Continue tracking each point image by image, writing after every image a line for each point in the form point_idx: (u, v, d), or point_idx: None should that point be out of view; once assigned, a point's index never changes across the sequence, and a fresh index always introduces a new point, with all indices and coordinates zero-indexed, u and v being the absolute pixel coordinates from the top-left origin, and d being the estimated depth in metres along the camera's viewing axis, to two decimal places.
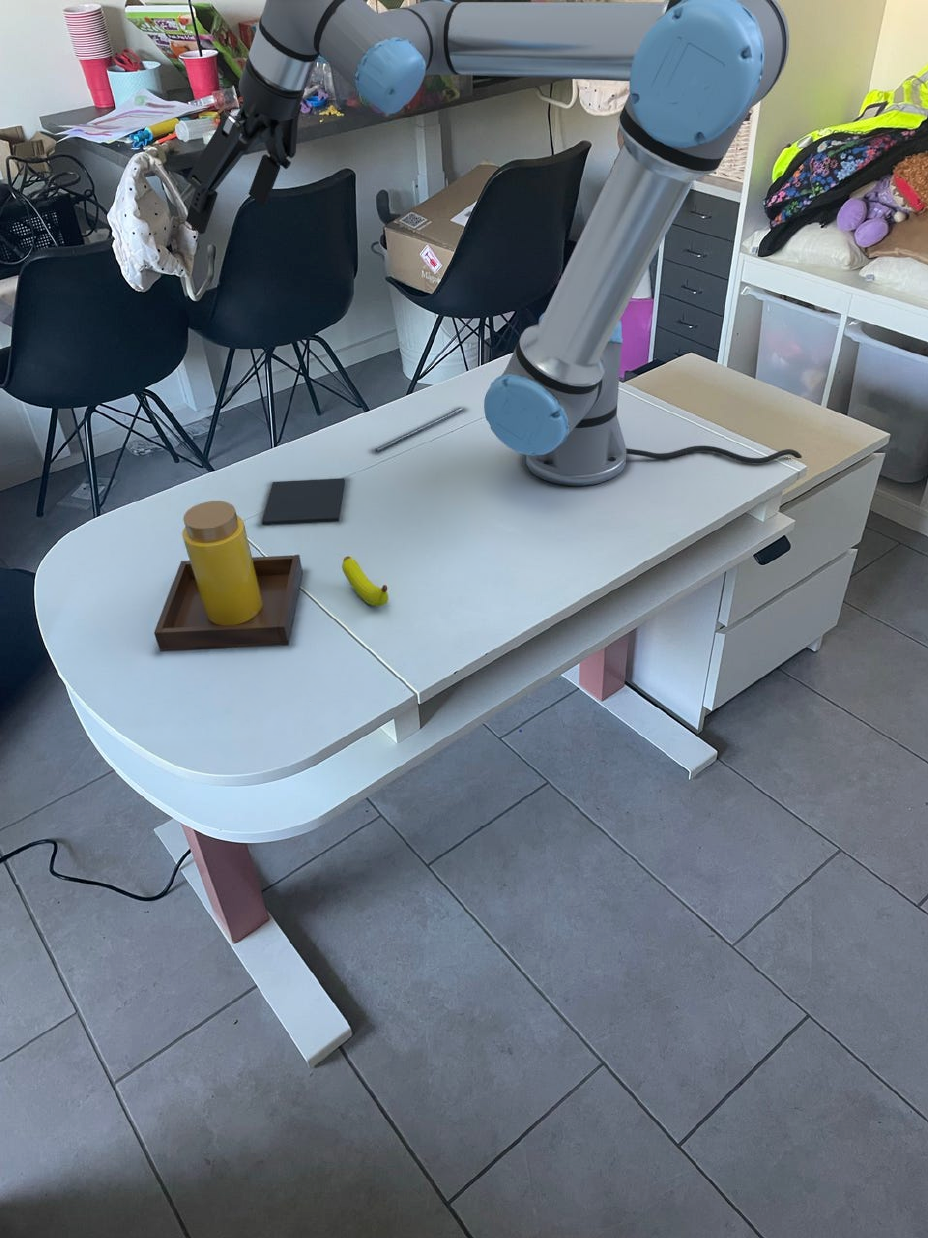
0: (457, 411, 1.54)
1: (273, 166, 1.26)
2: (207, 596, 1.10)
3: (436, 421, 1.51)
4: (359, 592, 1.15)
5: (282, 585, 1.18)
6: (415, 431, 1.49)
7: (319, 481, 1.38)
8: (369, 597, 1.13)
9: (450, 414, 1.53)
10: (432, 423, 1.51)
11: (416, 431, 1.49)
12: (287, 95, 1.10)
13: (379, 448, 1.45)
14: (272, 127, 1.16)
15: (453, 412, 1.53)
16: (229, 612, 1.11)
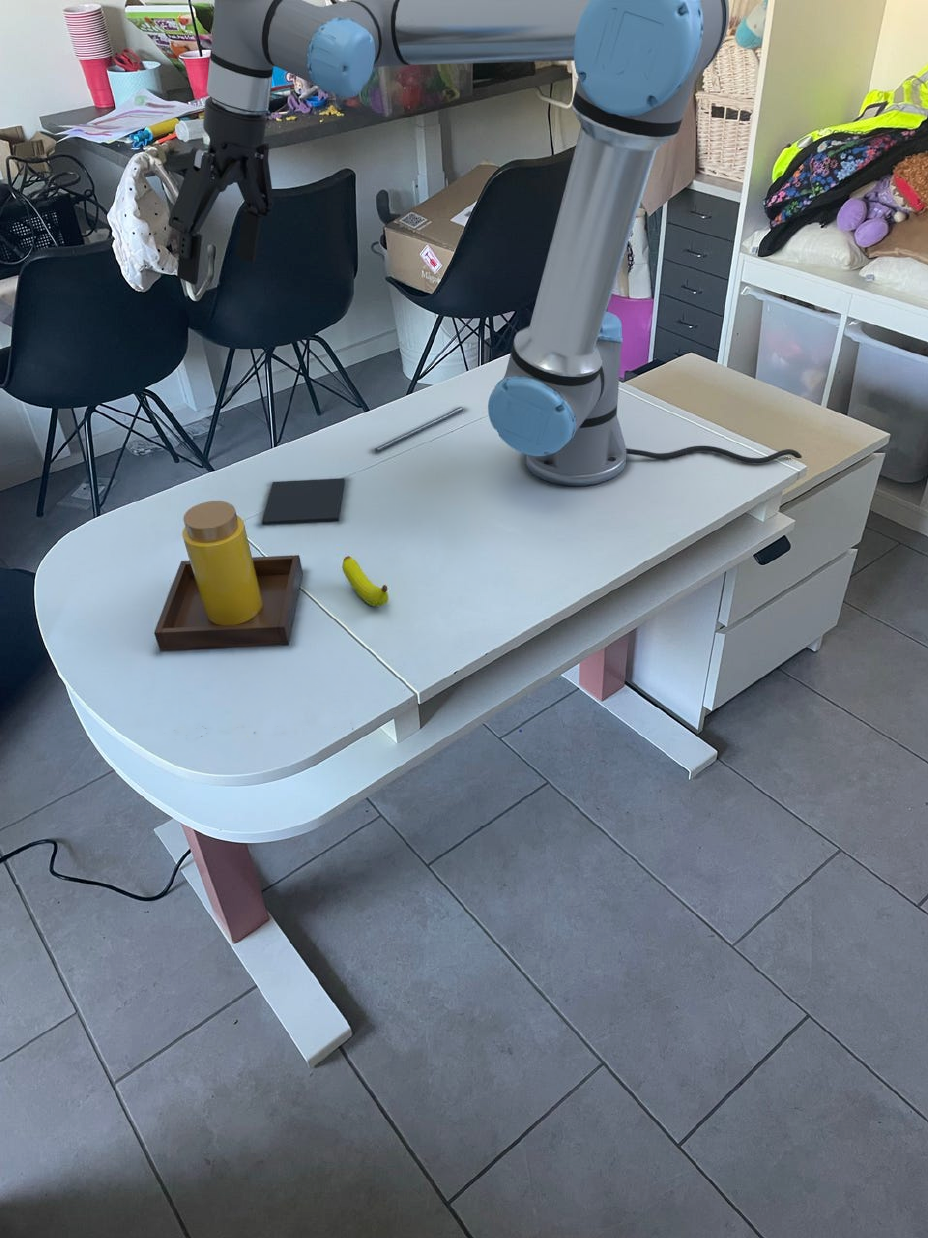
0: (457, 411, 1.54)
1: (254, 217, 1.27)
2: (207, 596, 1.10)
3: (436, 421, 1.51)
4: (359, 592, 1.15)
5: (282, 585, 1.18)
6: (415, 431, 1.49)
7: (319, 481, 1.38)
8: (369, 597, 1.13)
9: (450, 414, 1.53)
10: (432, 423, 1.51)
11: (416, 431, 1.49)
12: (249, 118, 1.11)
13: (379, 448, 1.45)
14: (243, 163, 1.17)
15: (453, 412, 1.53)
16: (229, 612, 1.11)
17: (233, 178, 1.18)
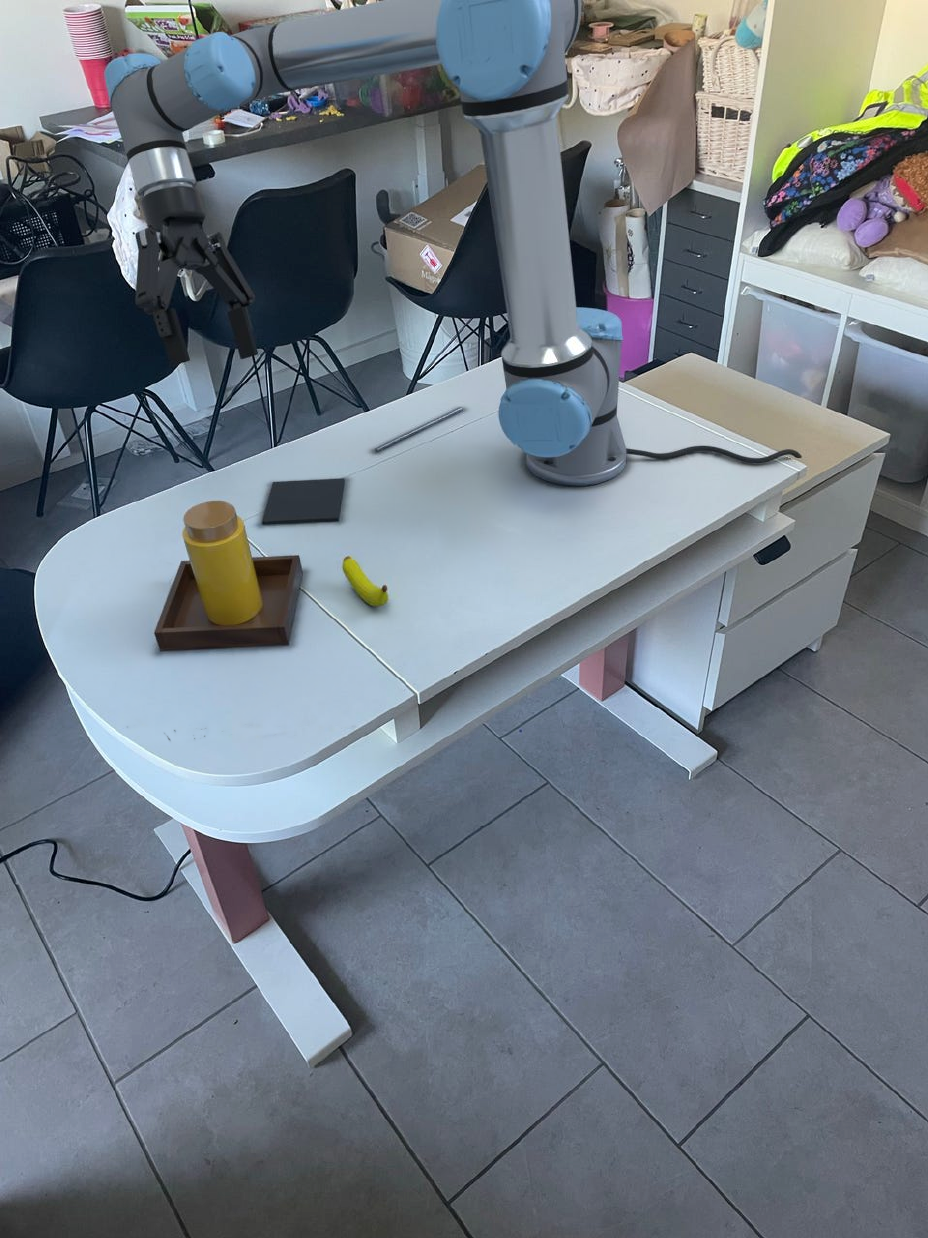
0: (457, 411, 1.54)
1: (238, 309, 1.25)
2: (207, 596, 1.10)
3: (436, 421, 1.51)
4: (359, 592, 1.15)
5: (282, 585, 1.18)
6: (415, 431, 1.49)
7: (319, 481, 1.38)
8: (369, 597, 1.13)
9: (450, 414, 1.53)
10: (432, 423, 1.51)
11: (416, 431, 1.49)
12: (177, 186, 1.14)
13: (379, 448, 1.45)
14: (196, 243, 1.18)
15: (453, 412, 1.53)
16: (229, 612, 1.11)
17: (191, 258, 1.18)
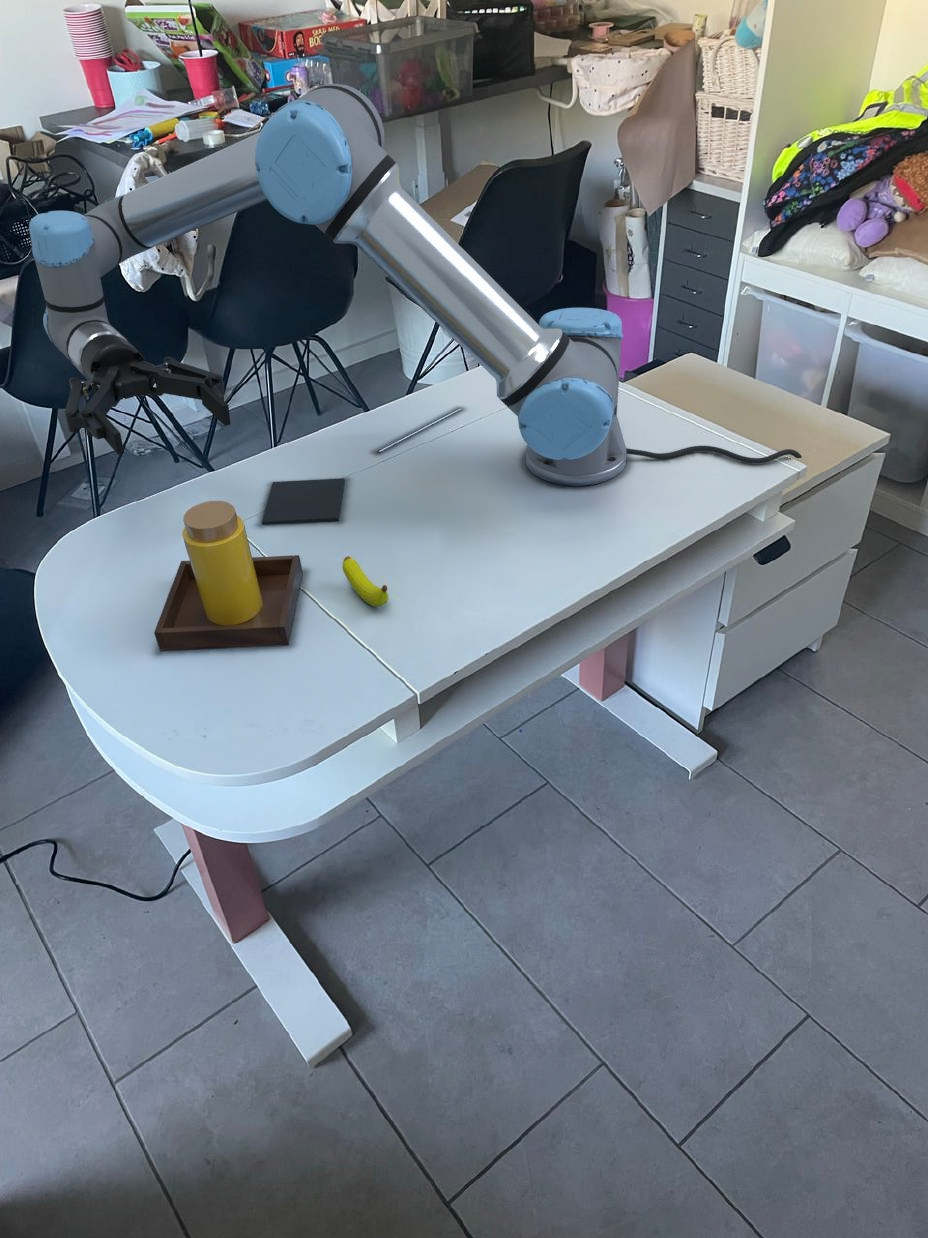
0: (456, 411, 1.54)
1: (200, 390, 1.16)
2: (207, 596, 1.10)
3: (436, 422, 1.52)
4: (359, 592, 1.15)
5: (282, 585, 1.18)
6: (415, 432, 1.49)
7: (319, 481, 1.38)
8: (369, 597, 1.13)
9: (449, 414, 1.53)
10: (432, 424, 1.51)
11: (416, 432, 1.49)
12: (92, 342, 1.18)
13: (381, 450, 1.45)
14: (131, 368, 1.17)
15: (452, 412, 1.54)
16: (229, 612, 1.11)
17: (127, 379, 1.16)
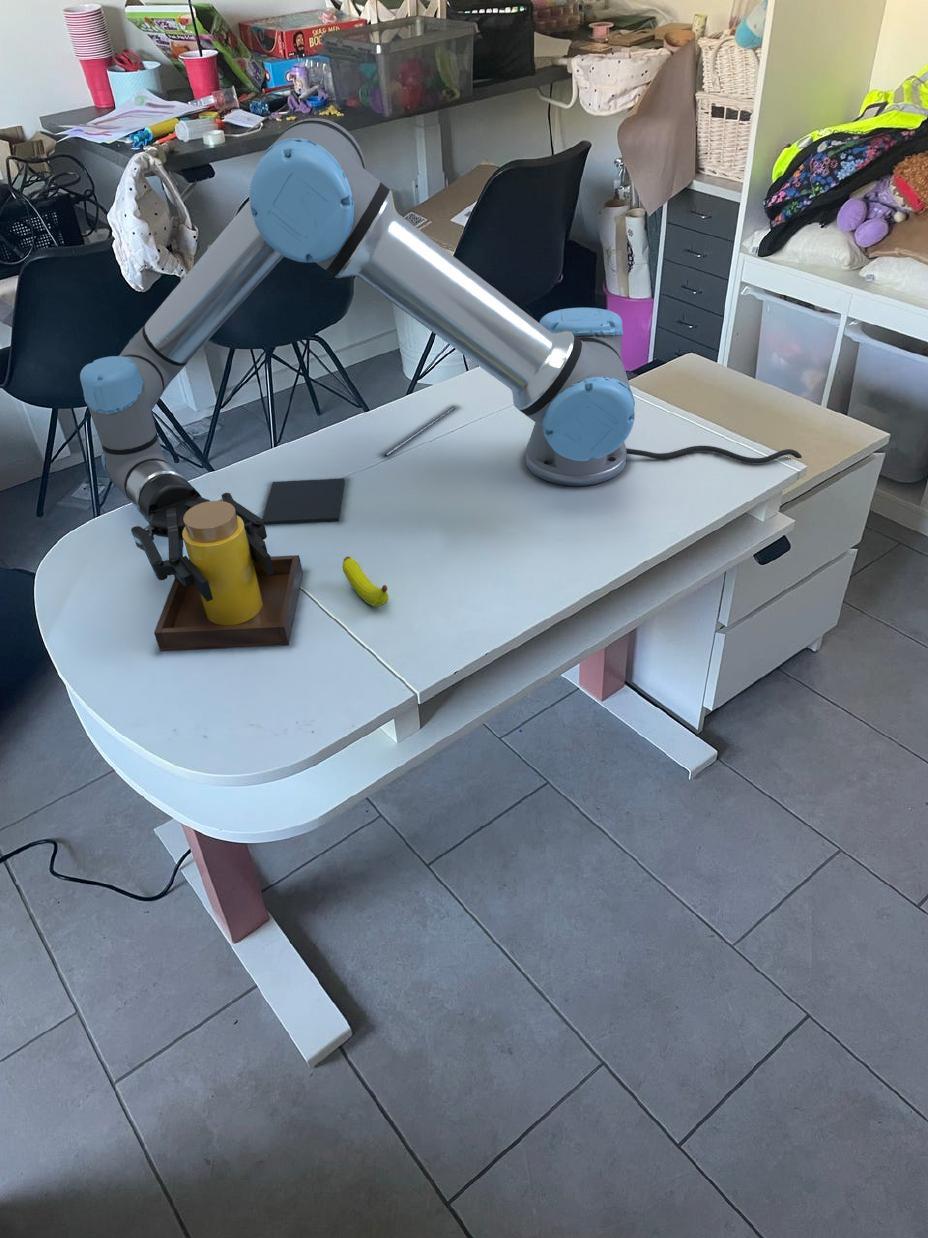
0: (452, 410, 1.55)
1: None
2: None
3: (434, 421, 1.52)
4: (359, 592, 1.15)
5: (282, 585, 1.18)
6: (418, 433, 1.49)
7: (319, 481, 1.38)
8: (369, 597, 1.13)
9: (446, 413, 1.54)
10: (431, 424, 1.51)
11: (418, 433, 1.49)
12: (148, 484, 1.19)
13: (388, 453, 1.44)
14: (187, 508, 1.17)
15: (448, 411, 1.54)
16: (229, 612, 1.11)
17: None
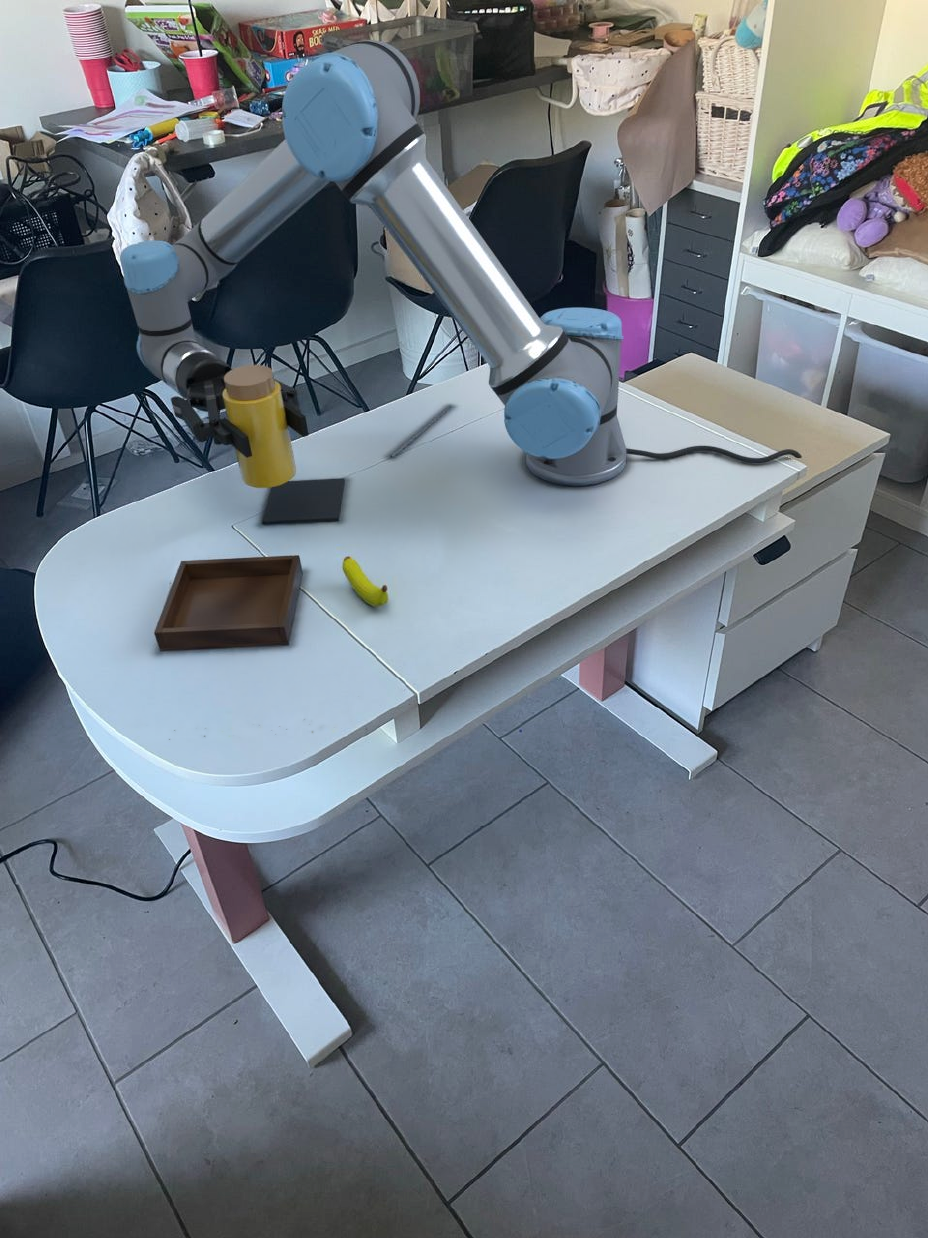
0: (448, 409, 1.55)
1: None
2: (245, 457, 1.15)
3: (434, 421, 1.52)
4: (359, 592, 1.15)
5: (282, 585, 1.18)
6: (419, 433, 1.49)
7: (319, 481, 1.38)
8: (369, 597, 1.13)
9: (443, 413, 1.54)
10: (431, 423, 1.51)
11: (420, 433, 1.49)
12: (185, 360, 1.24)
13: (394, 454, 1.44)
14: (223, 381, 1.22)
15: (445, 410, 1.54)
16: (265, 474, 1.17)
17: (220, 391, 1.21)
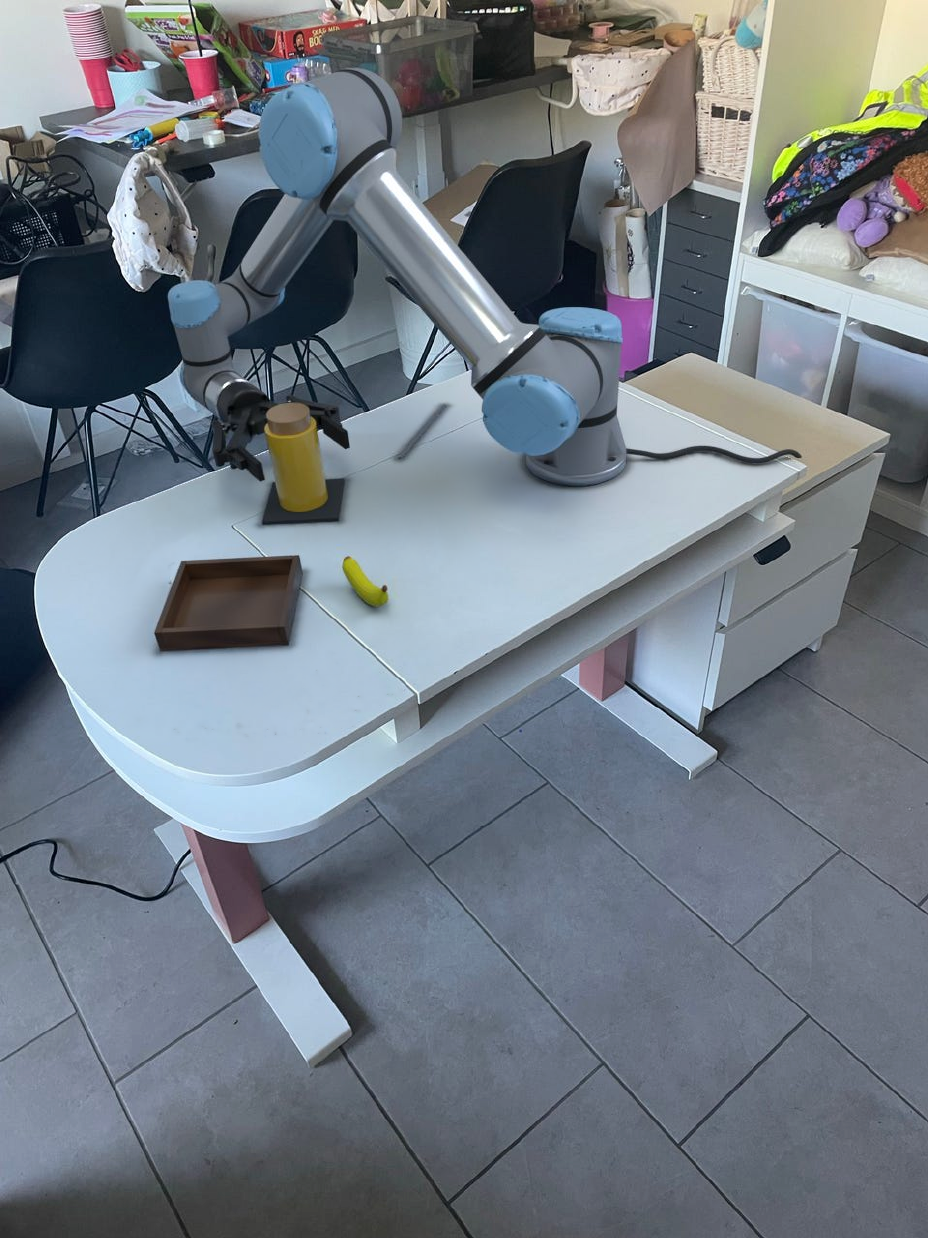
0: (444, 408, 1.55)
1: (321, 420, 1.33)
2: (283, 485, 1.29)
3: (432, 421, 1.52)
4: (359, 592, 1.15)
5: (282, 585, 1.18)
6: (421, 433, 1.49)
7: None
8: (369, 597, 1.13)
9: (440, 412, 1.54)
10: (430, 423, 1.51)
11: (422, 433, 1.49)
12: (225, 389, 1.37)
13: (402, 456, 1.43)
14: (260, 408, 1.35)
15: (441, 409, 1.55)
16: (301, 499, 1.30)
17: (258, 417, 1.34)
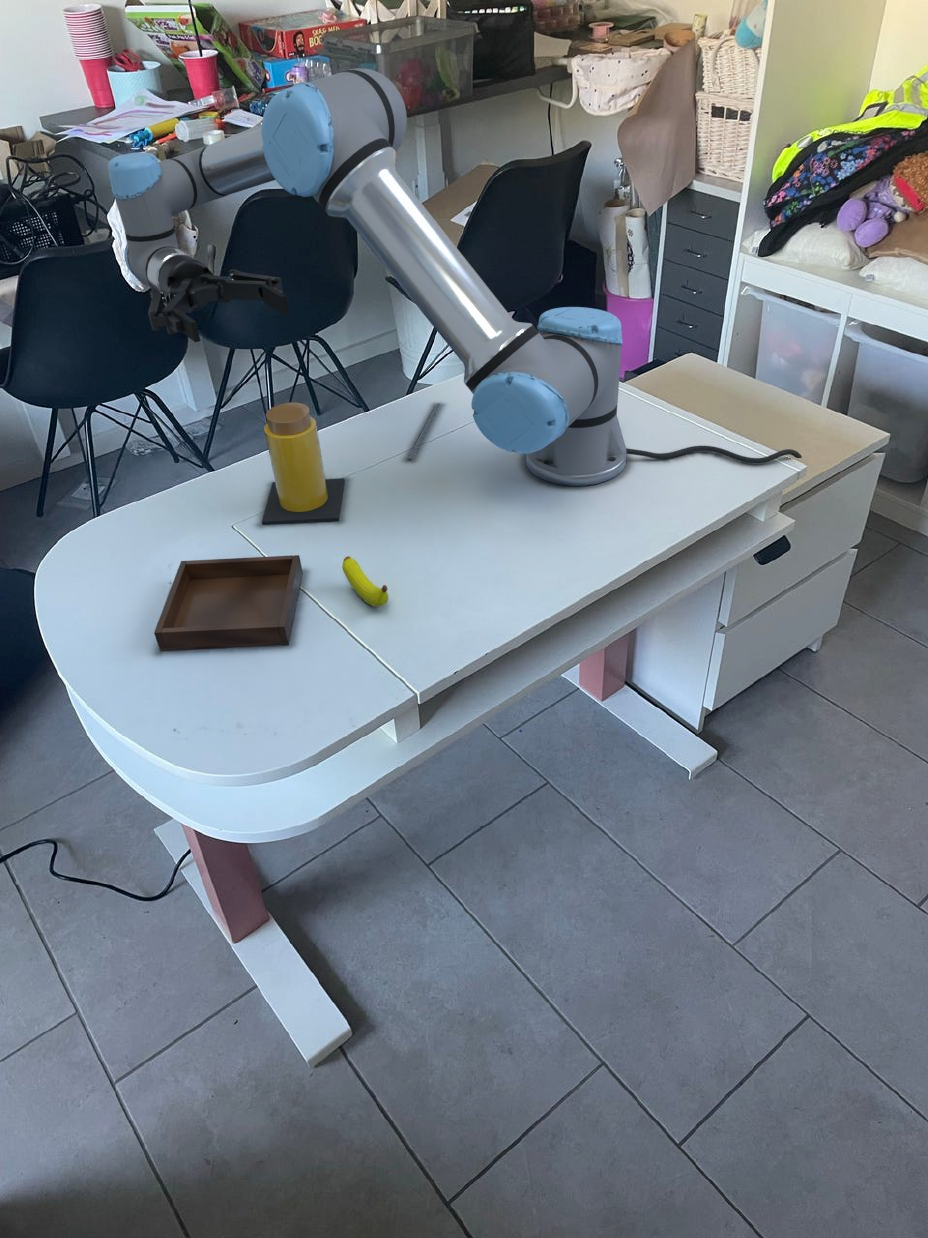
0: (438, 407, 1.56)
1: (262, 289, 1.31)
2: (283, 485, 1.29)
3: (431, 420, 1.52)
4: (359, 592, 1.15)
5: (282, 585, 1.18)
6: (424, 434, 1.49)
7: None
8: (369, 597, 1.13)
9: (435, 411, 1.54)
10: (430, 423, 1.51)
11: (424, 433, 1.49)
12: (167, 261, 1.35)
13: (412, 457, 1.43)
14: (201, 279, 1.33)
15: (436, 409, 1.55)
16: (301, 499, 1.30)
17: (199, 287, 1.32)
